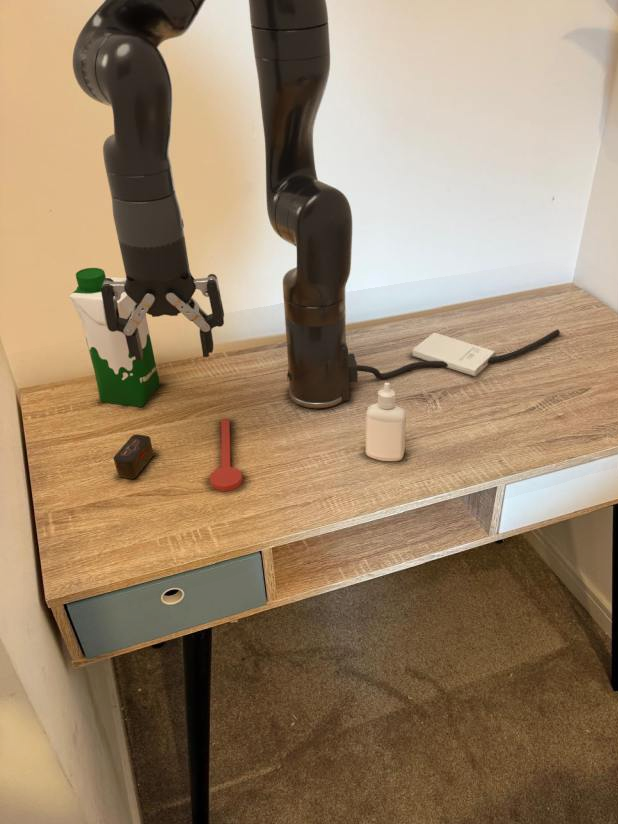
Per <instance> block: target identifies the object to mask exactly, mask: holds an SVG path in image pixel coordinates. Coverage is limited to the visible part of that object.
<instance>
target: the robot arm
mask: <svg viewBox="0 0 618 824" xmlns="http://www.w3.org/2000/svg"><path fill="white" fill-rule="evenodd" d="M206 1H207V0H104V1H103V2H102V3H101V5H100V6H99V7H98V8H97V9H96V10H95V11H94V13H93V14H92V15H91V16H90V18H88V20H87V21H86V22H85V24H84V26H83V27H82V28H81V30H80V32H79V34H78V36H77V38H76V41H75V44H74V48H73V51H72V52H73V53H72V70H73V74H74V77H75V80H76V82H77V85H78V86H79V87H80V89H81V90H82V91H83V92H84V94H86V95H87V96H88V97H89V98H90V99H92V100H94V101H95V102H98V103H99V104H103V105H106V106H108V107H111V109H112V114H113V115H112V116H113V117H112V118H113V133H112V134H110V135H109V136H107V138H106V139H105V140H104V142H103V145H102V156H103V162H104V168H105V173H106V178H107V182H108V188H109V192H110V196H111V202H112V203H111V204H112V205H111V207H112V215H113V220H114V221H113V223H114V226H115V231H116V235H117V240H118V241H117V242H118V245H119V249H120V254H121V260H122V264H123V268H124V273H125V278H126V282H114V281H113V280H112V279H111V278H106V279H105V280H104V282H103V285H102V288H101V293H102V299H103V304H104V310H105V316H106V322H107V327H108V329H109V330H110V331H112V332H115V331H119V332H122V333H123V334H124V335H125V337H126V341H127V345H128V350H129V354H130V355H131V356H132V357H135V359H136V361H141V360H142V358H143V350H142V345H141V341H140V336H139V331H138V328H137V326H138V325H139V324H140V323H141V321H142V319H143V318H144V316H145V315H146V316H147V314H148V315H149V316H151V317H152V318H157V317H162V316H170V317H178V315H179V314H182V315H183V316H184V317H185V318H186V319H187V320H188V321H189V322H193V324H194V325H195V326H197V327H198V328H199V338H200V344H201V351H202V357H203V358H210V354H211V353H213V351H214V339H213V332H212V331H213V329H214V328H215V327H218V328H220V327H223V326H224V324H225V319H224V318H225V311H224V307H223V301H222V295H221V291H220V286H219V280H218V277H217V275H216V274H214V273H210V274H208V275H207V277H200V278H195V277H194V276H193V275H192V273H191V269H190V264H189V263H190V262H189V258H188V257H189V255H188V250H187V244H186V238H185V231H184V227H185V226H184V225H185V224H184V220H183V218H182V212H181V208H180V204H179V200H178V197H177V193H176V187H175V182H174V176H173V169H172V162H171V158H170V157H171V156H170V152H169V151H170V143H171V142H170V141H171V134H172V133H171V132H172V115H173V85H172V79H171V74H170V71H169V68H168V65H167V62H166V61H165V58H164V56H163V54H162V53H161V51H160V50H159V47H160V46H161V44H162V43H164V42H165V41H167V40H171V39H176V38H179V37H181V36H183V35H185V34H186V33H187V32H188V30H189V29H190V28H191V26H192V25H193V23H194V22H195V21H196V18H197V16H198V15H199V13H200V11H201V10H202V8H203V6H204V4H205V3H206ZM248 7H249V8H248V9H249V10H248V11H249V21H250V31H251V39H252V47H253V56H254V62H255V68H256V74H257V80H258V90H259V101H260V102H259V103H260V110H261V120H262V127H263V136H264V137H263V138H264V150H265V151H264V153H265V197H266V211H267V216H268V220H269V223H270V226H271V227H272V229H273V231H274V232H275V234H276V235H277V236H278V237H280V239H282V240H284V241H285V242H287V243H288V244H290V245H292V246H294V247H296V267H294V268H290V269H289V270H288V271H287V272H286V273H285V274H284V276H283V278H282V297H283V308H284V310H283V311H284V324H285V339H286V352H287V353H286V354H287V368H288V369H287V373H286V374H287V375H286V377H287V378H286V379H287V381H288V387H289V388H288V393H289V397H290V399H291V401H292V402H293V403H294V404H297V405H298V406H301V407H304V408H309V409H326V408H331V407H335V406H337V405H339V404H341V403H345V402H349V399H350V398H349V384H355V383H358V375H359V374H358V372H364V373H370V374H373V375H374V377H375V378H376V379H378V380H389V379H392V378H394V377H397V376H400V375H401V374H403V373H406V372H409V371H412V370H414V369H415V370H416V369H420V368H447V366H448V364H447V363H446V362H443V361H426V360H423V361H416V362H412V363H408V364H406V365H404V366H401V367H399V368H397V369H395V370H392V371H390V372H385V373H384V372H383V373H381V372H380V371H379V369H377V368H375V367H373V366H368V365H361V364H360V365H359V364H357V360H356V356H355V353H349V347H348V343H347V324H346V323H347V319H346V314H347V313H346V310H347V309H346V286H347V283H348V280H349V278H350V276H351V275H350V274H351V268H352V252H353V251H352V250H353V214H352V209H351V204H350V202H349V200H348V198H347V196H346V195H345V194H344V193H343V192H342V191H341V190H340V189H338V188H336V187H334V186H332V185H330V184H327V183H325V182H323V181H321V180H319V179H318V175H317V170H316V169H317V168H316V162H315V150H314V129H315V123H316V119H317V117H318V116H317V115H318V113H319V109H320V108H321V104H322V101H323V98H324V95H325V92H326V89H327V86H328V81H329V77H330V71H331V47H330V46H331V45H330V27H329V26H330V25H329V14H328V7H327V1H326V0H248ZM196 290H199V291H200V292H201V294H202V295H203V296H204V297H205V298H208V299H209V304H210V309H211V313H210V314H208V313H207V312H206V311H205V310H203V308H201V305H200V304H199V302H197V301H196V299H194V297H193V296H194V295H195V292H196ZM123 292H126V294H127V295H128V296H129V297H130V298H131V299H132V300H133V301H134V302H135V305H134V307H133V309H132V311H131V313H130V314H129V316H128V318H127V319H124V318H120V317H119V311H118V304H117V301H118V300H120V298H121V294H122V293H123ZM560 334H561V331H560V330H559V329H556V330H554V331H552V332H550V333H548V334H546V335H545V336H543V337H542V338H540V339H538V340H536V341H534V342H531V343H530V344H527V345H525V346H524V347H523V346H522V347H521V348H519V349H516V350H514V351H511V352H507V353H504V354H500V355H497V356H496V355H495V357H491V358H489V360H488V362H487V363H488V365H490V364H492V363H493V364H494V363H499V362H503V361H506V360H510V359H513V358H515V357H518V356H520V355H523V354H526V353H527V352H529V351H531V350H533V349H535V348H537V347H539V346H542V345H543V344H545V343H547V342H548V341H550V340H552V339H553V338H555V337H557V336H558V335H560Z"/></svg>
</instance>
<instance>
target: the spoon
mask: <svg viewBox="0 0 618 824" xmlns="http://www.w3.org/2000/svg"><path fill="white" fill-rule="evenodd" d="M220 420H221V421H220V422H221V424H220V425H221V426H220V427H221V428H220V429H221V432H220V433H221V434H220V435H221V436H220V437H221V439H220V440H221V441H220V442H221V448H220V449H221V467H219V468H217V469H215V470H213V471H212V472H211V473H210V475H209V482H210V485H211V487H212V488H213V489H215V490H216V491H221V492H228V491H229V492H230V491H233V490H236V489H238V488H239V487H240V486H242V483H243V474H242V472H241V470H239V469H238V468H236V467H233V466H232V465H231V422H230V418H222V419H220Z"/></svg>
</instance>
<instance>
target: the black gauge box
mask: <svg viewBox="0 0 618 824" xmlns="http://www.w3.org/2000/svg"><path fill="white" fill-rule="evenodd" d="M153 456H154V450H153V445H152V440H151V436H149V435H144V434H137V433H136V434H133V435H131V436H130V437H129V439H128V440H127V441H126V442H125V443H124V445H123V446H121V448H120V449H119V450H118V452H116V454H115V455H114V456H113V457H112V458H113V462H114V466H115V470H116V473H117V476H118V477H120V478H125V479H131V480H133V479H135V478H136V477H137V476H138V475H139V474H140V473H141V472H142V470H143V469H144V468H145V466H146V465H147V464H148V462H149V461H150V460H151V459H152V457H153Z"/></svg>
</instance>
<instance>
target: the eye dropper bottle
mask: <svg viewBox="0 0 618 824" xmlns="http://www.w3.org/2000/svg"><path fill="white" fill-rule="evenodd" d="M406 428H407V413H406V411H405V409H404V408H402V407H401V406H399V405H398V404H396V391H395V390H394V389H392V387H391V384H390V382H384V385H383V387H382V388H380V389H379V390H378V392H377V403H373V404H371V405H369V406H368V407H367V409H366V413H365V455H366V456H367V457H369V458H371V459H375V460H376V461H383V462H399V461H401V460H402V459H403V458H404V454H405V449H406V448H405V447H406V431H407V430H406Z"/></svg>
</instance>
